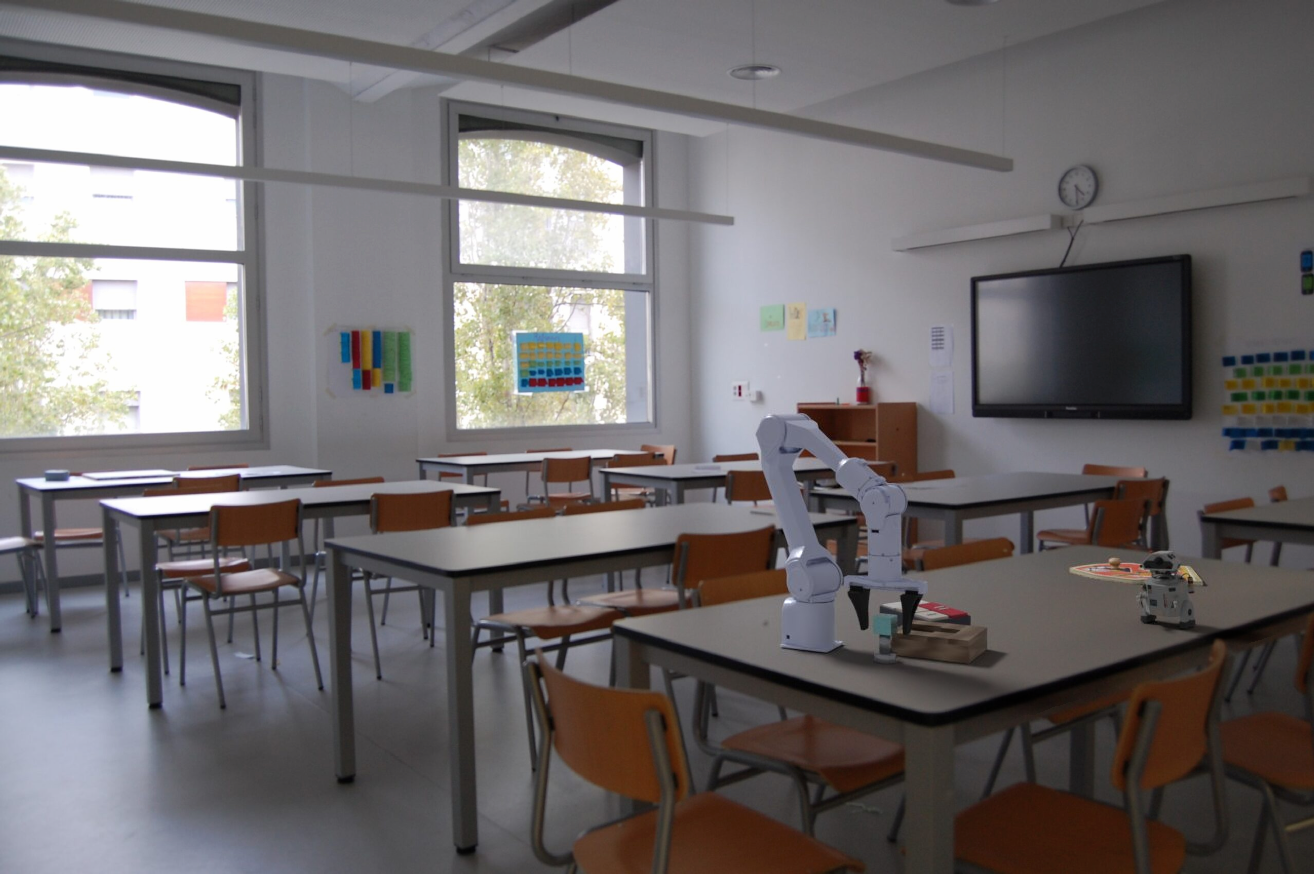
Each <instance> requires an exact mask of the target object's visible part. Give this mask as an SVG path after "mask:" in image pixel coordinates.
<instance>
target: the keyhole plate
mask: <svg viewBox="0 0 1314 874" xmlns="http://www.w3.org/2000/svg"><path fill="white" fill-rule="evenodd" d="M986 650H988V627H987V626H978V625H977V626H976V625H971V626H969V625H959V624H949V623H939V622H929V621H920V620H913V622H912V627H911V633H910V634H908V635H903V631H902V626H897V633H895V634H893V635H892V651H895V652H897V656H902V657H909V658H917V659H924V660H925V659H926V660H934V661H944V662H951V663H957V664H958V663H960V664H968V665H969V664H970V663H971V662H973V661H974V660H975V659H976V658H978V657H979V656H980V655H982V654H983V653H984V652H986Z"/></svg>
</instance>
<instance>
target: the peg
mask: <svg viewBox="0 0 1314 874" xmlns="http://www.w3.org/2000/svg"><path fill="white" fill-rule="evenodd" d="M872 625H873V626H872V627H873V628H872V629H873V630H872V631H873V632H872V633H873V634H874V635H878V650H874V651H873V662H874V663H876V664H881V665H894V664H897V663H898V655H897V652H895V651H892V635H893V634H895V633H897V628H898V626H897V615H892V614H882V613H877V614H875V615H874V616H872Z"/></svg>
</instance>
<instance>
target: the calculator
mask: <svg viewBox="0 0 1314 874" xmlns="http://www.w3.org/2000/svg"><path fill="white" fill-rule="evenodd" d="M879 613H882V614H892V615H897V627H900V626H902V623H903V614H902V605H901V601H896V602H895V601H894V602H889V603H883V604H881V605H879ZM879 613H878V614H879ZM971 619H972V616H971V615H970V614H969V613H968V612H966V611H963V610H960V609H955V608H953V607H950V606H946V605H943V604H939V603H935V602H929V601H925V600H924V599H923V600H922V599H921V601H920V603H919V605H918V607H917V610H916V612H915V615H914V618H913V620H920V621H929V622H939V623H949V624H959V625H969V626H972V625H971V624H972V623H971V622H972V620H971Z"/></svg>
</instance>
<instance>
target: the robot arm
mask: <svg viewBox="0 0 1314 874" xmlns="http://www.w3.org/2000/svg"><path fill="white" fill-rule="evenodd" d="M756 429H757V430H756V431H755V437H756V439H757V443H758V446H759V448H760V463H761V464H760V465H761V468H762V471H763V475H764V478H765V481H766V483H767V487H768V489H769V493H770V495H771V499H772V501H773V505H774V507H775V510H776V513H777V516H778V519H779V522H780V524H781V527H782V531H783V533H784V536H785V540H786V542H787V545H788V548H789V551H790V554H789V556H788V558H787V559H786V561H785V563H784V565H783V566H784V569H785V572H786V586H787V587H786V588H788V589H787V590H788V592H789V593H790V595H791V596H789V597H787V598H785V600H784V601H783V605H782V608H781V644H779V646H780V648H785V649H794V650H795V649H796V650H801V651H803V650H804V651H811V652H817V653H818V652H819V653H820V652H821V653H829V652H831V651H833V650H835V649H836V648H838V647H840V646H842V645H843V644H844V641H842V640H836V608H835V607H836V602H835V601H836V599H837V596H838V595H837V593H838V592H839V591H840V589H841V588H842V586H843V588H846V589H847V588H848V590H847V597H848V598H849V600H850V603H852V605H853V608H854V611H855V614H856V616H857V619H858V622H859V623H858V625H859V627H860V631H866V630H868V629H869V626H870V621H869V620H870V615H869V614H870V612H869V605H870V604H869V603H870V595H871V590H880V591H889V592H890V591H891V592H900V593H901V592H903V593H902V594H900V596H899V599H900V602H901V605H902V614H903V623H902V631H903V635H908V634H910V633H911V627H912V622H913V618H914V615H915V612H916V610H917V607H918V605H919V603H920V601H921V600H922V599H923V598H924V597H923V596H924V595H925V594H928V581H924V580H916V579H911V578H903V576H902V514H904V513H905V511H906V510H907V507H908V495H907V494H906V491H905V490H904V489H903V488H902V486H901V485H900V484H899V483H898V484H897V483H889V482H887V481H886V480H887V479H886V478H885V477H884V476H881V475H878V474H877V472H875V471H874V470H873V469H872V468H870V466H868V461H867V460H865V458H859V457H850V458H849V457H848V456H847V455H846V454H845V453H844V452H843V451H842V450H841V449H840V448H839V447H838V446H837V445H836V444H835V443H833V441H832V440H831V439H830V438H829V437H827V435H826V434H825V433H824V432H823V431H822V430H821V429H819V425H818V422H816V421H814V420H813V419H811V417H810V416H809V415H807V414H806V413H802V412H801V413H795V414H794V413H793V414H789V413H788V414H776V413H769V414H767V415H764V416H763V417H762V419H761V420H760V422H759V424H758V427H757V428H756ZM804 450H806V451H808V452H809V453H810V454H811V455H813V456H815V457H816V458H817V459H818V460H819V461H821V462H822V463H823V464H825V465H826V466H827V467H829V468H830V469H831V470H832V471H833V472H834V473H835V481H836V483H838V485H840V487H842V488H843V489H844V490H845V491H846V492H847V493H848V494H850V495H851V496H852V497H853V499H855V500H857V502H858V503H859V505H860V506H859V507H860V510H861V512H862V514H863V516H864V517H865V525H866V527H867V575H849V574H848V575H846V576H843V572H842V570H841V568H840V566H839V565H838V564H837V563H836V561H835V560H834V558H833V556H832V555H833V554H832V553H831V552H830V551H829V550H828V549H827V548H825V547H824V546H823V545H821V544H820V543H819V540H818V537H817V534H816V532H815V528H814V525H813V523H812V520H811V517H810V515H809V512H808V509H807V505H806V503H805V500H804V497H803V494H802V491H801V489H800V486H799V483H798V480H797V477H796V474H795V471H794V468H793V465H794V463H795V462H796V460H797V459H798V458H799V456H800V455H801V454H802V453H803V451H804Z"/></svg>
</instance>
